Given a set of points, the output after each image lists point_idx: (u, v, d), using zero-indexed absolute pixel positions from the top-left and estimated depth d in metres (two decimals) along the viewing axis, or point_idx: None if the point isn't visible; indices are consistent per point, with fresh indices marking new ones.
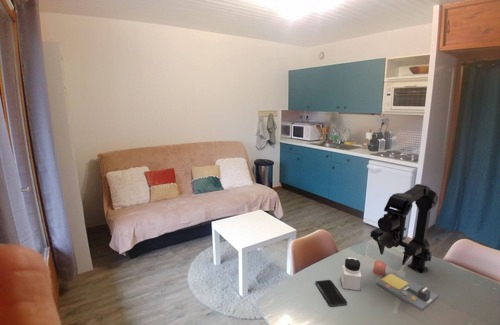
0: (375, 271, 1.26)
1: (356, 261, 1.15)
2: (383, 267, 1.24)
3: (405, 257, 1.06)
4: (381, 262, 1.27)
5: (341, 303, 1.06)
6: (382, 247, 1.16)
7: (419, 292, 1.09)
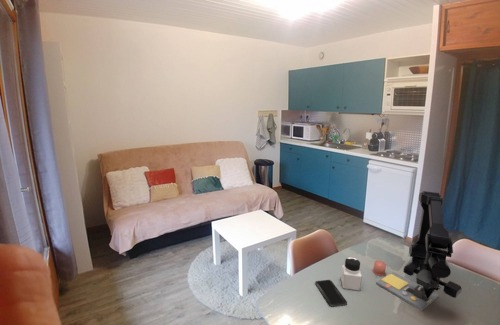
0: (375, 271, 1.26)
1: (356, 261, 1.15)
2: (383, 267, 1.24)
3: (431, 290, 1.06)
4: (381, 262, 1.27)
5: (341, 303, 1.06)
6: (428, 289, 1.08)
7: (415, 290, 1.10)
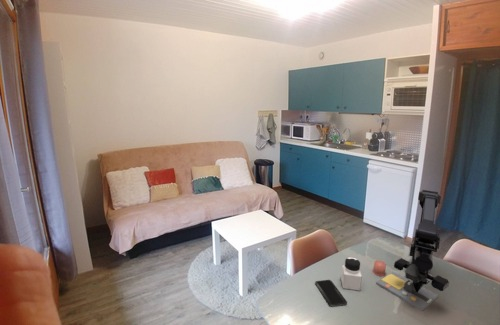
0: (375, 271, 1.26)
1: (356, 261, 1.15)
2: (383, 267, 1.24)
3: (420, 285, 1.09)
4: (381, 262, 1.27)
5: (341, 303, 1.06)
6: (417, 284, 1.11)
7: (405, 284, 1.13)
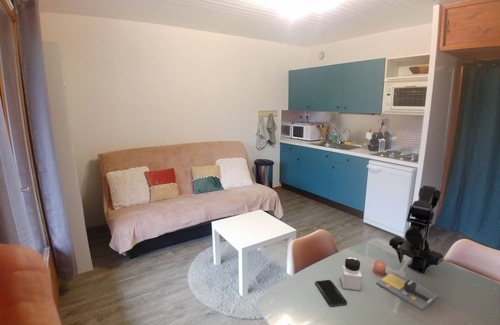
0: (375, 271, 1.26)
1: (356, 261, 1.15)
2: (383, 267, 1.24)
3: (426, 266, 1.06)
4: (381, 262, 1.27)
5: (341, 303, 1.06)
6: (401, 255, 1.16)
7: (405, 284, 1.13)
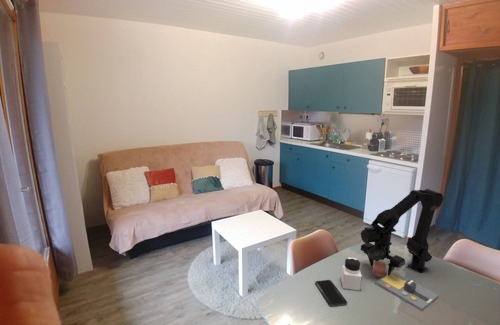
0: (375, 271, 1.26)
1: (356, 261, 1.15)
2: (383, 267, 1.24)
3: (390, 268, 1.21)
4: (381, 262, 1.27)
5: (341, 303, 1.06)
6: (372, 259, 1.30)
7: (405, 284, 1.13)
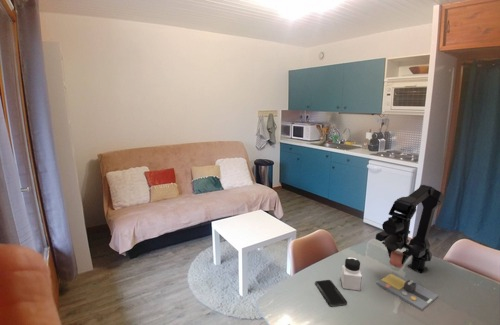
0: (392, 262, 1.16)
1: (356, 261, 1.15)
2: (401, 257, 1.14)
3: (404, 257, 1.13)
4: (398, 252, 1.17)
5: (341, 303, 1.06)
6: None
7: (405, 284, 1.13)
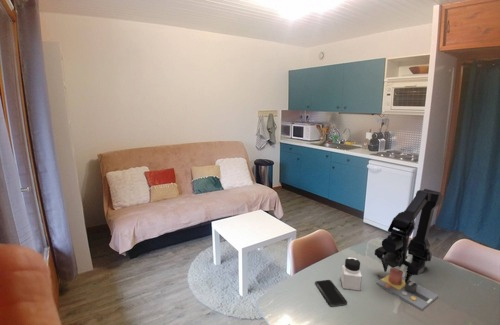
0: (391, 280, 1.18)
1: (356, 261, 1.15)
2: (400, 275, 1.16)
3: (408, 276, 1.12)
4: (397, 270, 1.19)
5: (341, 303, 1.06)
6: (386, 265, 1.22)
7: (406, 285, 1.13)
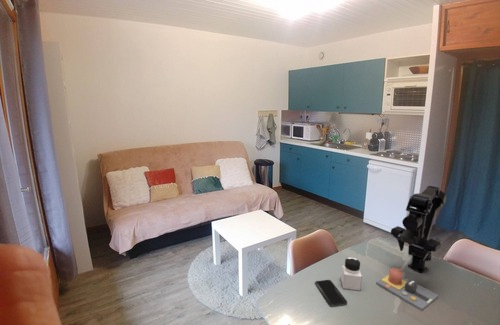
0: (391, 280, 1.18)
1: (356, 261, 1.15)
2: (400, 275, 1.16)
3: (425, 253, 1.14)
4: (397, 270, 1.19)
5: (341, 303, 1.06)
6: (402, 244, 1.23)
7: (406, 285, 1.13)
